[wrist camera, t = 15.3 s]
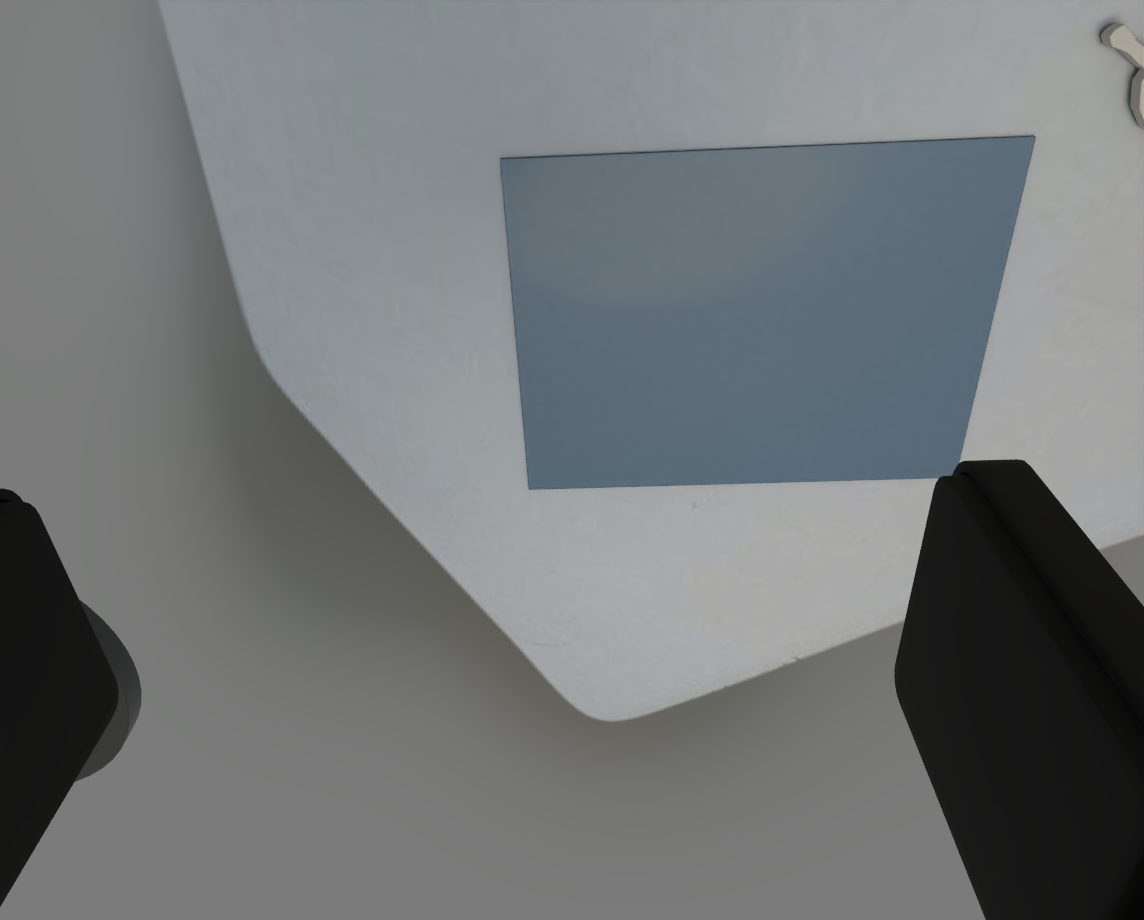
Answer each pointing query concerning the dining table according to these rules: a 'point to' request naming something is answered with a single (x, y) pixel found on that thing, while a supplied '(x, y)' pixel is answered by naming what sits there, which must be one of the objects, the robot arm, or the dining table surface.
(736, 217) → the napkin
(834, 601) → the dining table surface
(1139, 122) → the scissors
